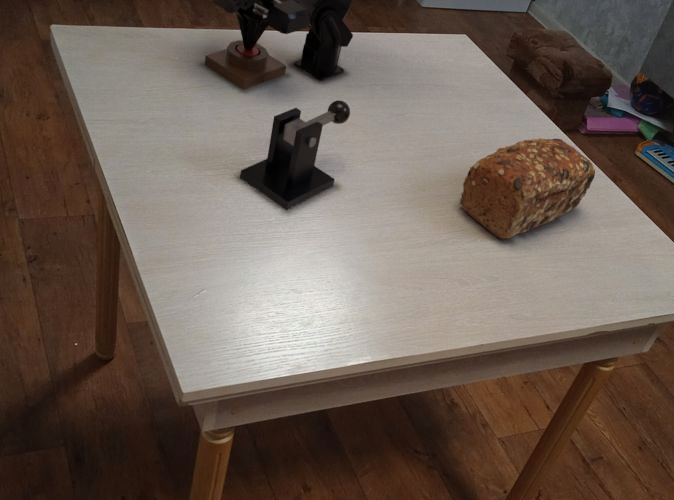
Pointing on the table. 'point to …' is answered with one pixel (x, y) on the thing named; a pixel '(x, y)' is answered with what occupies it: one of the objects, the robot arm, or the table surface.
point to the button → (245, 52)
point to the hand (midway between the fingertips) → (248, 49)
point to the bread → (526, 185)
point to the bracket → (290, 164)
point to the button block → (245, 66)
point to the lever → (318, 120)
